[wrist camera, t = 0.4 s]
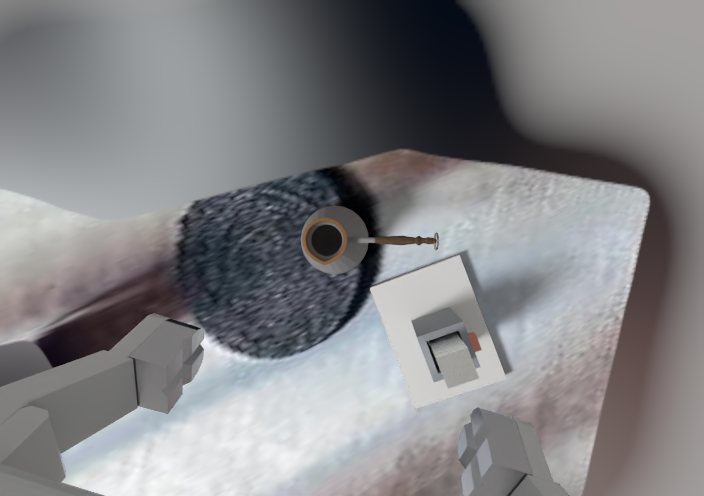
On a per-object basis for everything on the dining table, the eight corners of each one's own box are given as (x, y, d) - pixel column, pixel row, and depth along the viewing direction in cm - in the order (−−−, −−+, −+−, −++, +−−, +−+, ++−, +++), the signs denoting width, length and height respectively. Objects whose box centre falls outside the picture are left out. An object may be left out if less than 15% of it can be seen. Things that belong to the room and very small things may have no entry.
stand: (503, 375, 59) (532, 408, 48) (414, 404, 61) (422, 443, 49) (457, 254, 60) (475, 258, 48) (370, 286, 61) (367, 298, 50)
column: (453, 340, 58) (479, 378, 43) (430, 348, 59) (447, 389, 43) (444, 317, 58) (467, 347, 43) (421, 325, 59) (435, 357, 43)
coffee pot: (304, 271, 62) (279, 282, 47) (304, 207, 62) (279, 197, 47) (426, 273, 60) (440, 285, 45) (427, 207, 60) (441, 196, 45)
